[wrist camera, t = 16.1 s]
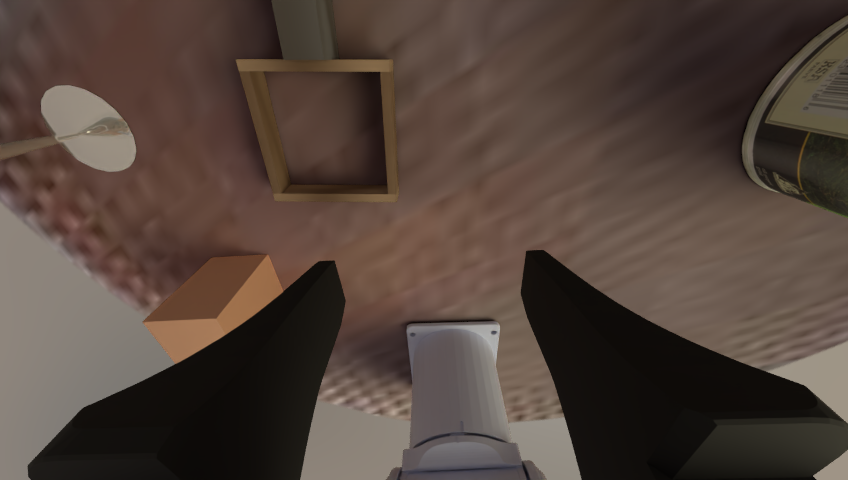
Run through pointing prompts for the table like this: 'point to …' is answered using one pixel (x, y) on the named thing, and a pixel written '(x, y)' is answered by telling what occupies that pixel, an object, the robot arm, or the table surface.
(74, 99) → the wineglass
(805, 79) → the coffee can
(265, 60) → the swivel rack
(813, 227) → the table surface
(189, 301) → the block
